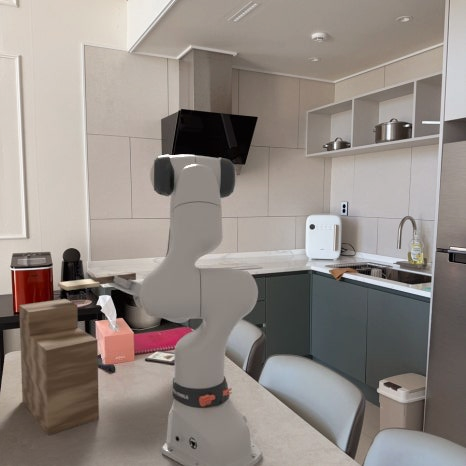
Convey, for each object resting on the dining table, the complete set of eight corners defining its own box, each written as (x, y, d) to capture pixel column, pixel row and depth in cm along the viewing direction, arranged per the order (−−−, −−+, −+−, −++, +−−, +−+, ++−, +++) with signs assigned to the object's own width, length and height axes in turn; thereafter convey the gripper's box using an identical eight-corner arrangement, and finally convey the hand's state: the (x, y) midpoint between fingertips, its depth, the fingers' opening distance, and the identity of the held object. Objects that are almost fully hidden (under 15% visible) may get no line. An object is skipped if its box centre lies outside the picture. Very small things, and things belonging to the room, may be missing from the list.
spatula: (128, 277, 136) (128, 271, 136) (139, 281, 130) (139, 274, 130) (57, 286, 122) (57, 278, 122) (66, 290, 117) (66, 282, 117)
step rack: (98, 419, 110) (96, 315, 108) (48, 435, 103) (45, 324, 100) (67, 389, 127) (65, 298, 125) (22, 401, 120) (19, 305, 117)
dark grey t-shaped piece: (93, 381, 134) (93, 372, 134) (66, 368, 144) (66, 360, 143) (132, 367, 145) (132, 359, 145) (105, 356, 155) (105, 349, 154)
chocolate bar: (193, 366, 143) (144, 358, 149) (193, 369, 143) (144, 361, 150) (205, 357, 152) (158, 350, 158) (205, 360, 152) (158, 353, 158)
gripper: (137, 280, 145) (101, 262, 137) (170, 291, 129) (131, 271, 121) (128, 298, 144) (91, 281, 136) (160, 311, 128) (121, 293, 120)
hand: (110, 277), depth 128 cm, fingers closed on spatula, 2 cm apart
